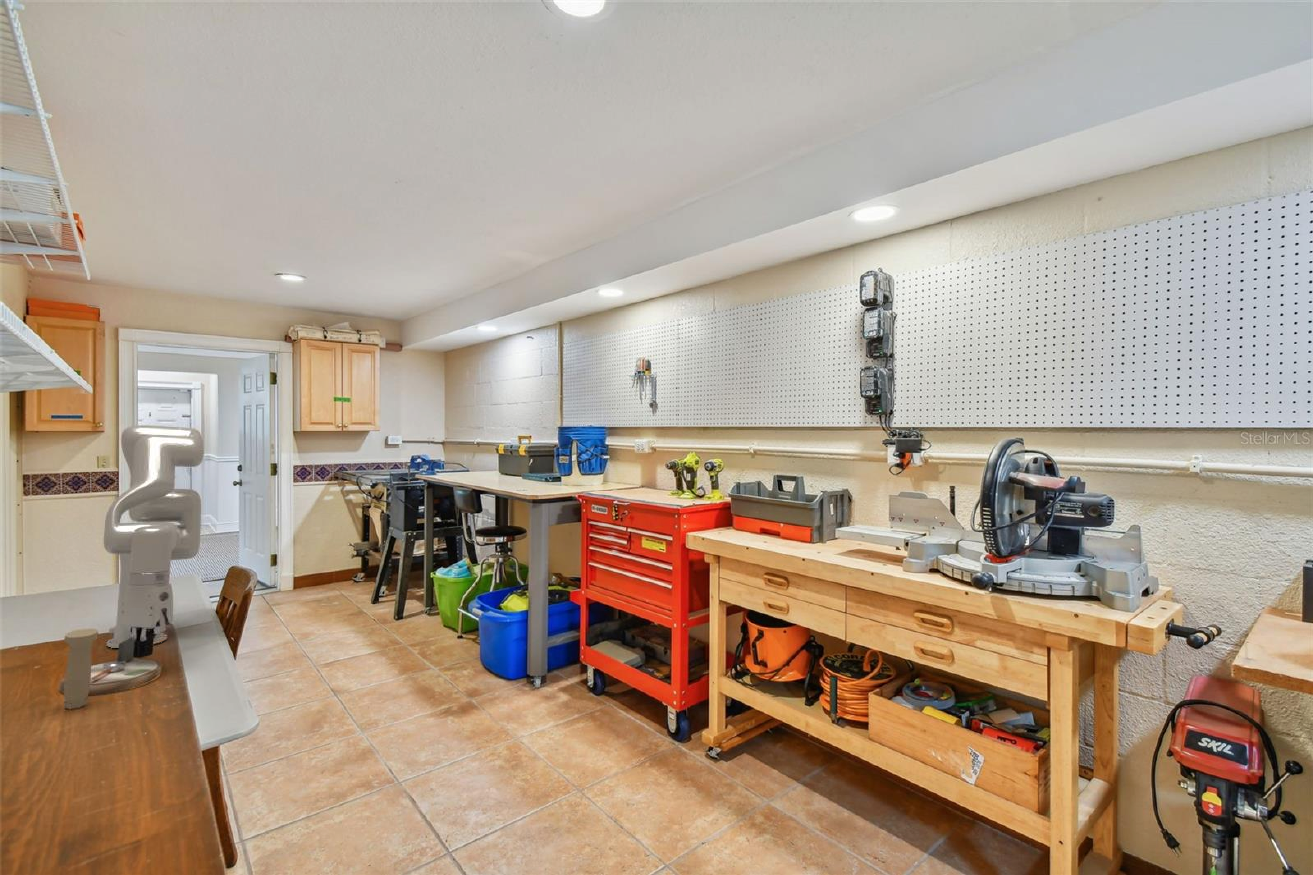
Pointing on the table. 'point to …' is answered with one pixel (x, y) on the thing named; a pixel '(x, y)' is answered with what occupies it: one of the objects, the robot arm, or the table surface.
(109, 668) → the dial pointer
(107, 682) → the base
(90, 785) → the table surface
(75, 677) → the handle
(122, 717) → the table surface
